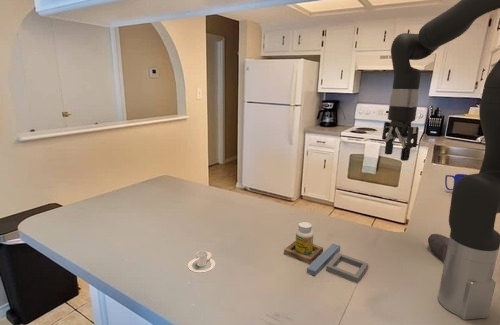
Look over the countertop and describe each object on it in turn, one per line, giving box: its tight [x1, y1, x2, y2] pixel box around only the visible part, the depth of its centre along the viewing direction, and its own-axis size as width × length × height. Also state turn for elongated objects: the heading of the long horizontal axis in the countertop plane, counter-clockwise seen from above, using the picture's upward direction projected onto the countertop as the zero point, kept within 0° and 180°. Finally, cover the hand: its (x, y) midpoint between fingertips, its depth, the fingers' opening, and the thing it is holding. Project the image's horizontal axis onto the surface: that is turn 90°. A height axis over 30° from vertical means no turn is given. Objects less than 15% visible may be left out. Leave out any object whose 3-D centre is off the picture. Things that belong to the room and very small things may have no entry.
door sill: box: [306, 243, 341, 277], centre depth 91 cm, size 18×2×2 cm, turn 142°
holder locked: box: [283, 240, 324, 265], centre depth 95 cm, size 9×9×2 cm
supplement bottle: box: [294, 221, 314, 256], centre depth 94 cm, size 5×5×10 cm
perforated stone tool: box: [427, 233, 449, 262], centre depth 93 cm, size 15×5×7 cm, turn 4°
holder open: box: [325, 252, 369, 284], centre depth 87 cm, size 9×9×2 cm
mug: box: [444, 173, 467, 191], centre depth 151 cm, size 8×12×10 cm
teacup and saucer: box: [187, 250, 216, 274], centre depth 88 cm, size 9×8×4 cm
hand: (396, 157), depth 94 cm, fingers open, 8 cm apart
